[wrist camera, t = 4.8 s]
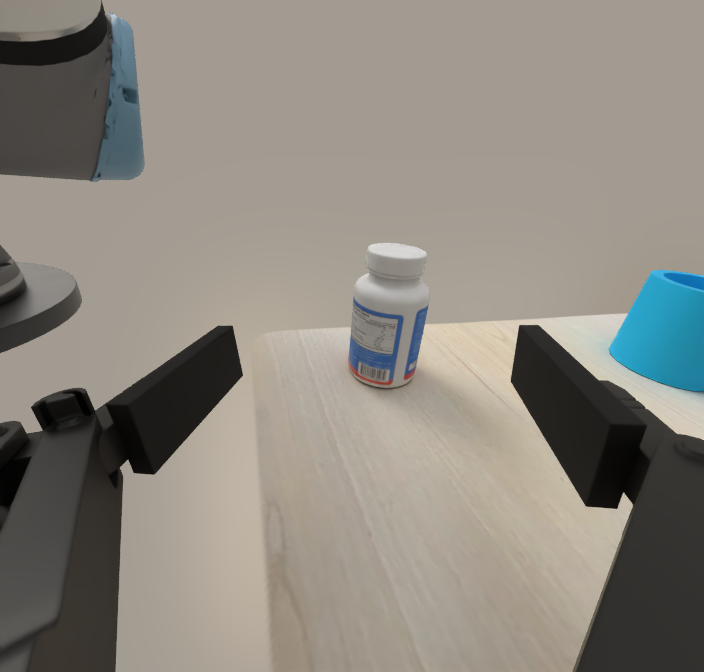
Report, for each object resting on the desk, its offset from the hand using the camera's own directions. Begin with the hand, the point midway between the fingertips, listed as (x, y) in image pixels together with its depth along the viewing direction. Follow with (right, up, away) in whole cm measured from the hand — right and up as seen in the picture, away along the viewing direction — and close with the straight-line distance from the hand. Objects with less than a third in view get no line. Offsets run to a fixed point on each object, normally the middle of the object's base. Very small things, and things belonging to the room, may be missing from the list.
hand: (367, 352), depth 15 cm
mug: (+29, -3, +15) cm, 33 cm away
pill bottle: (+2, -2, +11) cm, 12 cm away
